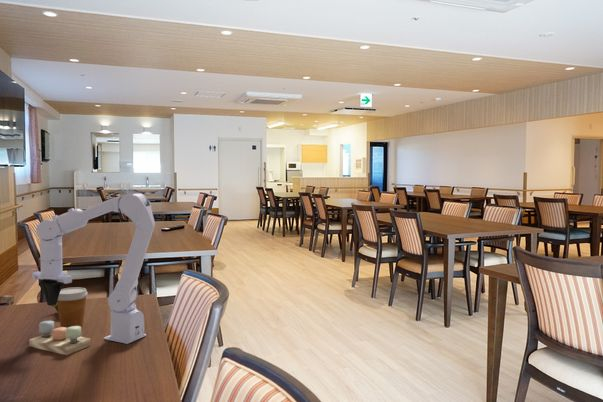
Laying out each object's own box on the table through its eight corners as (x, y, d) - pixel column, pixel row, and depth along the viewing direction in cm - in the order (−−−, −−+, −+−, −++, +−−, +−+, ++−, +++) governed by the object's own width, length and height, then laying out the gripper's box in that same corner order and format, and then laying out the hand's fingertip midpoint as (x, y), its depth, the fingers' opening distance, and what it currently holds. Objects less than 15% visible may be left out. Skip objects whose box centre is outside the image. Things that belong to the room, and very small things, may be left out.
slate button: (57, 336, 133) (57, 321, 133) (45, 340, 130) (45, 325, 130) (48, 334, 135) (48, 320, 135) (36, 338, 131) (36, 323, 131)
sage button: (84, 341, 129) (84, 327, 129) (72, 346, 125) (72, 331, 125) (74, 339, 130) (74, 325, 130) (63, 344, 127) (62, 329, 127)
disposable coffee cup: (63, 334, 140) (63, 295, 139) (49, 327, 146) (49, 290, 145) (93, 326, 147) (93, 290, 147) (79, 320, 153) (78, 285, 153)
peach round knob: (70, 342, 131) (70, 328, 131) (58, 347, 128) (58, 332, 127) (61, 340, 133) (61, 326, 132) (49, 345, 129) (49, 330, 129)
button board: (90, 345, 131) (90, 338, 131) (66, 355, 124) (66, 347, 123) (54, 337, 137) (54, 331, 137) (29, 346, 130) (29, 339, 129)
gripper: (22, 259, 134) (23, 304, 134) (56, 264, 128) (57, 311, 129) (44, 256, 140) (44, 299, 141) (77, 260, 134) (78, 305, 135)
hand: (52, 304), depth 135 cm, fingers closed
